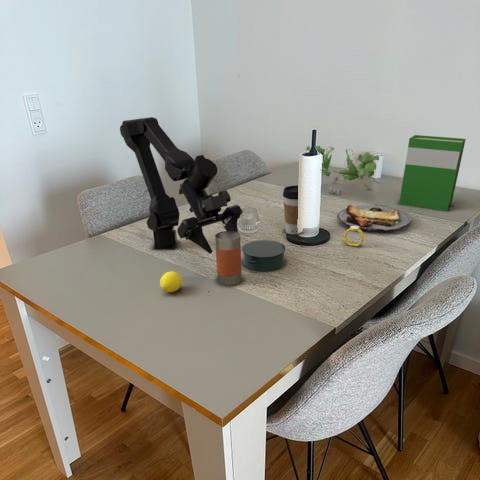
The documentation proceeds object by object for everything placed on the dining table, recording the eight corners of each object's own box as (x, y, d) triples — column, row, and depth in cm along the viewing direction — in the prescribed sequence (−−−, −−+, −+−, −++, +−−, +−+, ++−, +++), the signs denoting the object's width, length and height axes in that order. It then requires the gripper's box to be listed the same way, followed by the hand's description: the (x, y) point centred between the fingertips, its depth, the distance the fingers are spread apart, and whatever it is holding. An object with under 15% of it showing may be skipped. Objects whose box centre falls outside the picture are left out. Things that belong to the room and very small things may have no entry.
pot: (232, 269, 134) (231, 255, 132) (255, 248, 146) (255, 235, 144) (272, 277, 129) (273, 262, 127) (293, 255, 142) (293, 241, 139)
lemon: (172, 298, 120) (170, 280, 117) (155, 294, 123) (153, 275, 120) (188, 287, 125) (186, 269, 122) (172, 283, 128) (170, 265, 125)
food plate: (330, 229, 159) (331, 219, 157) (344, 208, 177) (345, 199, 175) (407, 238, 151) (408, 227, 149) (413, 215, 169) (414, 205, 167)
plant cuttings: (310, 197, 212) (288, 176, 194) (324, 162, 211) (303, 137, 193) (381, 212, 192) (364, 190, 174) (397, 173, 192) (382, 147, 173)
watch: (363, 245, 146) (366, 227, 143) (360, 248, 144) (362, 230, 141) (345, 242, 149) (347, 224, 146) (342, 244, 147) (344, 226, 144)
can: (216, 285, 126) (213, 240, 119) (218, 274, 132) (216, 230, 125) (240, 285, 125) (239, 240, 119) (242, 274, 131) (241, 230, 124)
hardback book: (451, 205, 177) (465, 138, 164) (447, 210, 172) (461, 142, 159) (404, 198, 185) (414, 134, 173) (399, 203, 180) (409, 138, 167)
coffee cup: (305, 236, 154) (308, 191, 146) (280, 235, 155) (281, 190, 148) (307, 227, 161) (310, 184, 153) (283, 226, 162) (284, 183, 155)
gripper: (178, 188, 115) (208, 243, 113) (237, 174, 124) (265, 224, 123) (165, 212, 124) (192, 263, 122) (221, 197, 134) (246, 244, 132)
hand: (225, 248), depth 125 cm, fingers open, 9 cm apart
